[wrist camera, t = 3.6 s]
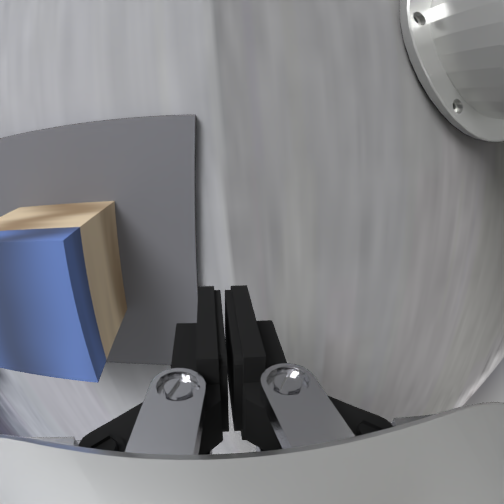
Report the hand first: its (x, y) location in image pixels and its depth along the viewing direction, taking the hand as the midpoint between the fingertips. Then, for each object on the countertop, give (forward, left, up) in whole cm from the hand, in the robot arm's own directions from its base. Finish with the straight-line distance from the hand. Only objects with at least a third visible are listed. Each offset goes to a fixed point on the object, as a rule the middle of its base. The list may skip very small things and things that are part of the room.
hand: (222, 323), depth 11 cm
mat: (+14, 0, -6) cm, 15 cm away
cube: (+8, 0, -6) cm, 10 cm away
